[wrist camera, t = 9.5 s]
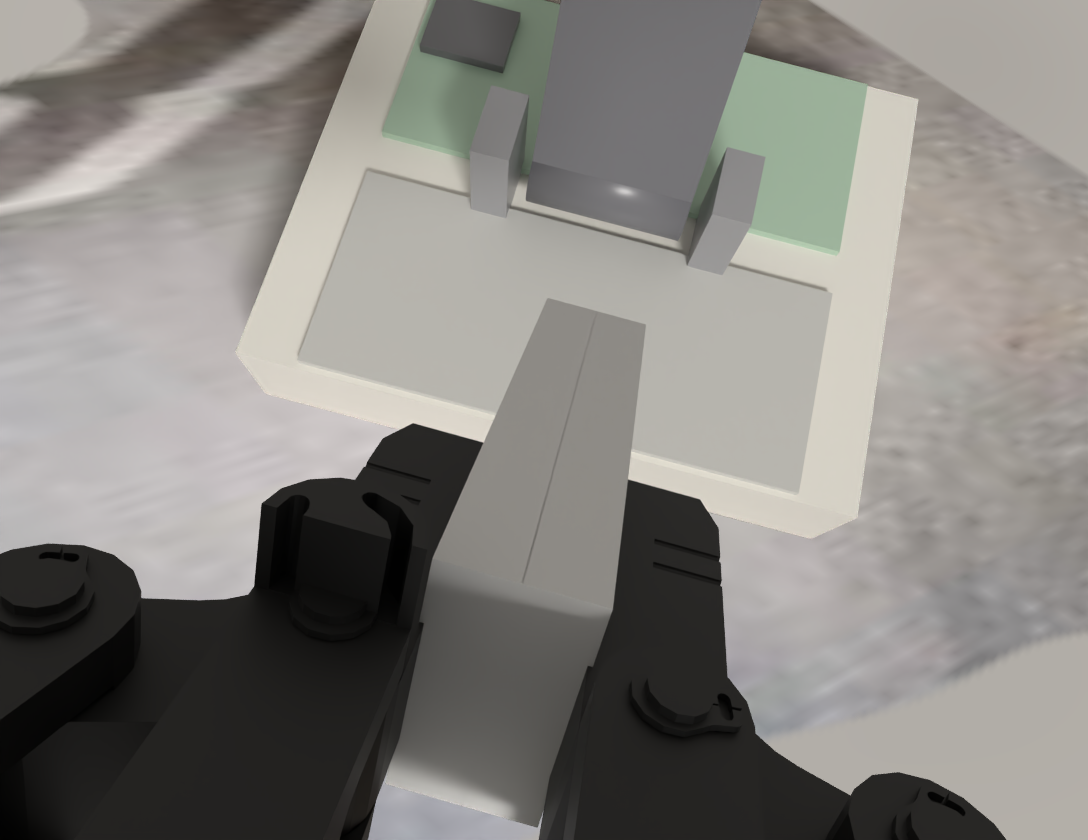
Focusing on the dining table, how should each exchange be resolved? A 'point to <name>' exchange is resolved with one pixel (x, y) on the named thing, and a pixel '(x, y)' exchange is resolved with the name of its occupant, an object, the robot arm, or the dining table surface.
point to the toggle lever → (635, 107)
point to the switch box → (594, 263)
